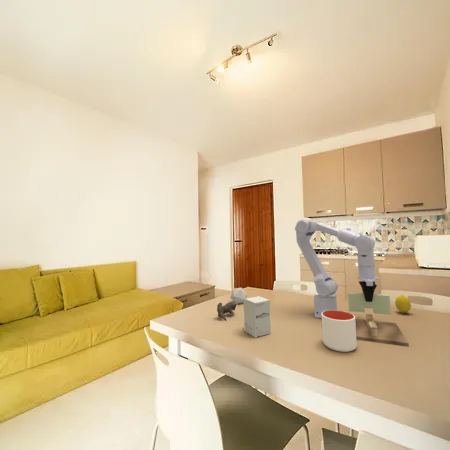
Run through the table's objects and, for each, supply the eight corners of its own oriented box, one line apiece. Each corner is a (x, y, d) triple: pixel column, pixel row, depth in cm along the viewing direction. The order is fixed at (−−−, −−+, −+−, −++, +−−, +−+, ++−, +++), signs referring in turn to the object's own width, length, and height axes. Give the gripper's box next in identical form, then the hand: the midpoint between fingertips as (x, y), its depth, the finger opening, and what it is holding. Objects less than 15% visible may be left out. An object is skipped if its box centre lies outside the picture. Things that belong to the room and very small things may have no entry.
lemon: (414, 315, 102) (413, 296, 102) (399, 315, 103) (398, 296, 103) (407, 311, 107) (406, 293, 108) (393, 311, 108) (392, 293, 109)
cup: (355, 356, 71) (353, 322, 72) (320, 349, 76) (318, 317, 77) (357, 342, 80) (356, 312, 80) (325, 336, 85) (324, 308, 85)
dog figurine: (222, 322, 103) (222, 304, 103) (214, 318, 107) (213, 302, 108) (241, 314, 112) (240, 298, 112) (232, 312, 116) (232, 296, 116)
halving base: (345, 337, 84) (344, 326, 84) (343, 320, 100) (343, 310, 100) (408, 346, 76) (407, 333, 76) (395, 325, 92) (395, 315, 92)
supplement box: (255, 338, 86) (253, 302, 86) (244, 331, 92) (242, 298, 93) (271, 333, 89) (270, 299, 90) (259, 327, 96) (258, 295, 96)
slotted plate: (349, 311, 96) (348, 293, 96) (348, 309, 98) (347, 292, 98) (390, 314, 90) (389, 295, 91) (389, 313, 92) (388, 294, 92)
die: (243, 300, 136) (232, 287, 137) (252, 295, 131) (241, 281, 131) (236, 309, 130) (224, 295, 130) (245, 304, 124) (234, 290, 125)
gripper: (381, 269, 87) (384, 306, 86) (375, 263, 100) (377, 296, 99) (359, 268, 89) (361, 305, 89) (355, 263, 103) (357, 295, 102)
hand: (368, 300), depth 94 cm, fingers closed on slotted plate, 2 cm apart
